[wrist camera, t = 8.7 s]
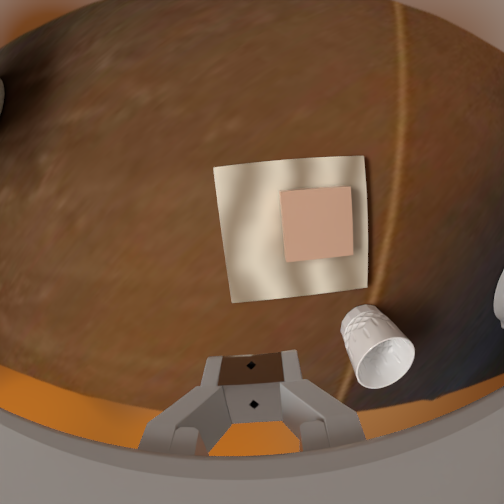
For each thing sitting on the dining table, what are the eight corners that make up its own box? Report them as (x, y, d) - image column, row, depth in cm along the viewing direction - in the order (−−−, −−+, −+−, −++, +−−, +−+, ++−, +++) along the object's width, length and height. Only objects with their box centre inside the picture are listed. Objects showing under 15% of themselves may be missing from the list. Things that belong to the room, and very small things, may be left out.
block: (278, 190, 33) (344, 185, 32) (284, 256, 35) (347, 249, 34) (280, 191, 30) (350, 186, 30) (286, 262, 33) (353, 255, 32)
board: (360, 156, 32) (363, 155, 31) (364, 283, 37) (367, 287, 36) (214, 167, 33) (213, 167, 32) (232, 299, 38) (231, 303, 36)
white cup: (371, 289, 37) (402, 324, 28) (393, 325, 39) (422, 362, 29) (326, 322, 39) (344, 365, 29) (351, 354, 40) (371, 397, 31)
